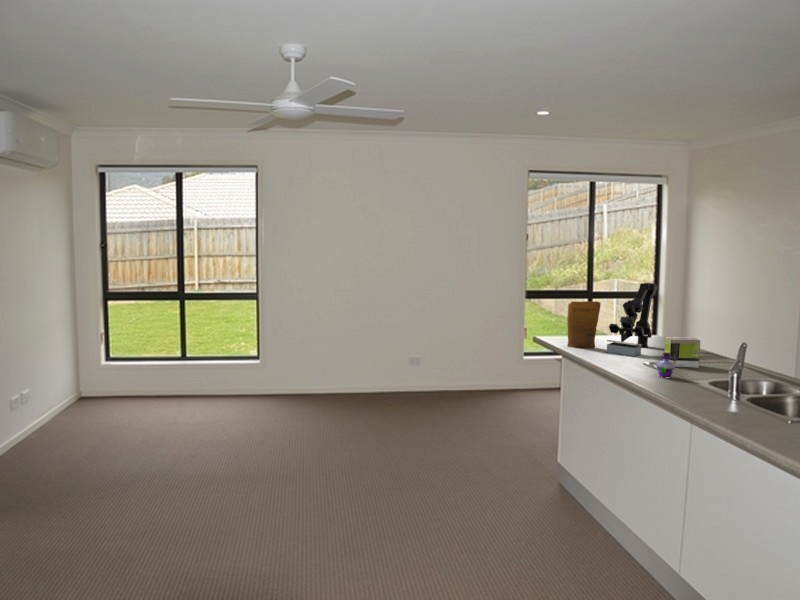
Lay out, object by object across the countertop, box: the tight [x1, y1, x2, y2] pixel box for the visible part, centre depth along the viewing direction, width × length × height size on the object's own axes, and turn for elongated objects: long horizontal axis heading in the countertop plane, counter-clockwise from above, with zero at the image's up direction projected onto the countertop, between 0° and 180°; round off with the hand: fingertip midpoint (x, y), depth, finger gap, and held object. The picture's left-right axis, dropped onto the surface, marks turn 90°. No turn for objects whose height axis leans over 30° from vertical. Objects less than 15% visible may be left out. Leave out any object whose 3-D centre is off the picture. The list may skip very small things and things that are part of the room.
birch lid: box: [606, 339, 642, 346], centre depth 361 cm, size 10×16×1 cm, turn 51°
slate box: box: [606, 342, 642, 358], centre depth 362 cm, size 10×16×5 cm, turn 51°
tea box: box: [663, 336, 701, 369], centre depth 332 cm, size 15×10×15 cm
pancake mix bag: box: [566, 300, 601, 349], centre depth 377 cm, size 7×19×28 cm, turn 83°
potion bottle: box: [655, 351, 676, 378], centre depth 305 cm, size 9×9×12 cm
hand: (621, 341), depth 358 cm, fingers closed, pressing on birch lid
